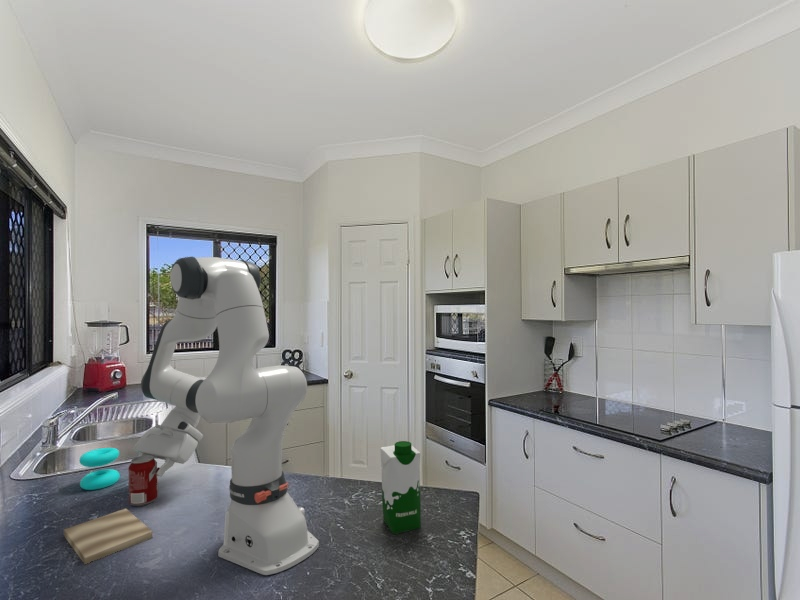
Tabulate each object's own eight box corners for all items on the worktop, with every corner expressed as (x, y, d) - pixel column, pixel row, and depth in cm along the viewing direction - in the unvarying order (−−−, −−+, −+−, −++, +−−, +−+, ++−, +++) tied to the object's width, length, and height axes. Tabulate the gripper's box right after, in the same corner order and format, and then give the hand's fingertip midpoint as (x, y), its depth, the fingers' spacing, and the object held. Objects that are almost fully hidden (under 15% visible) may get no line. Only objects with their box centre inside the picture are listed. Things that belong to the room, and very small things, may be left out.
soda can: (144, 508, 114) (143, 463, 114) (123, 506, 116) (122, 462, 116) (163, 497, 121) (162, 454, 121) (142, 495, 122) (141, 453, 122)
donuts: (84, 460, 124) (75, 452, 130) (85, 494, 124) (76, 485, 130) (123, 450, 131) (113, 444, 138) (124, 483, 131) (114, 475, 138)
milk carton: (391, 537, 97) (388, 449, 97) (378, 518, 106) (376, 438, 106) (426, 529, 100) (423, 444, 101) (411, 511, 109) (409, 433, 109)
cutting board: (152, 537, 100) (152, 531, 100) (85, 564, 90) (84, 557, 90) (126, 514, 111) (125, 508, 111) (63, 535, 102) (63, 529, 102)
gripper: (147, 418, 130) (115, 462, 122) (193, 426, 122) (162, 473, 113) (161, 429, 134) (131, 472, 126) (207, 437, 126) (178, 483, 117)
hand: (146, 472), depth 119 cm, fingers open, 8 cm apart
